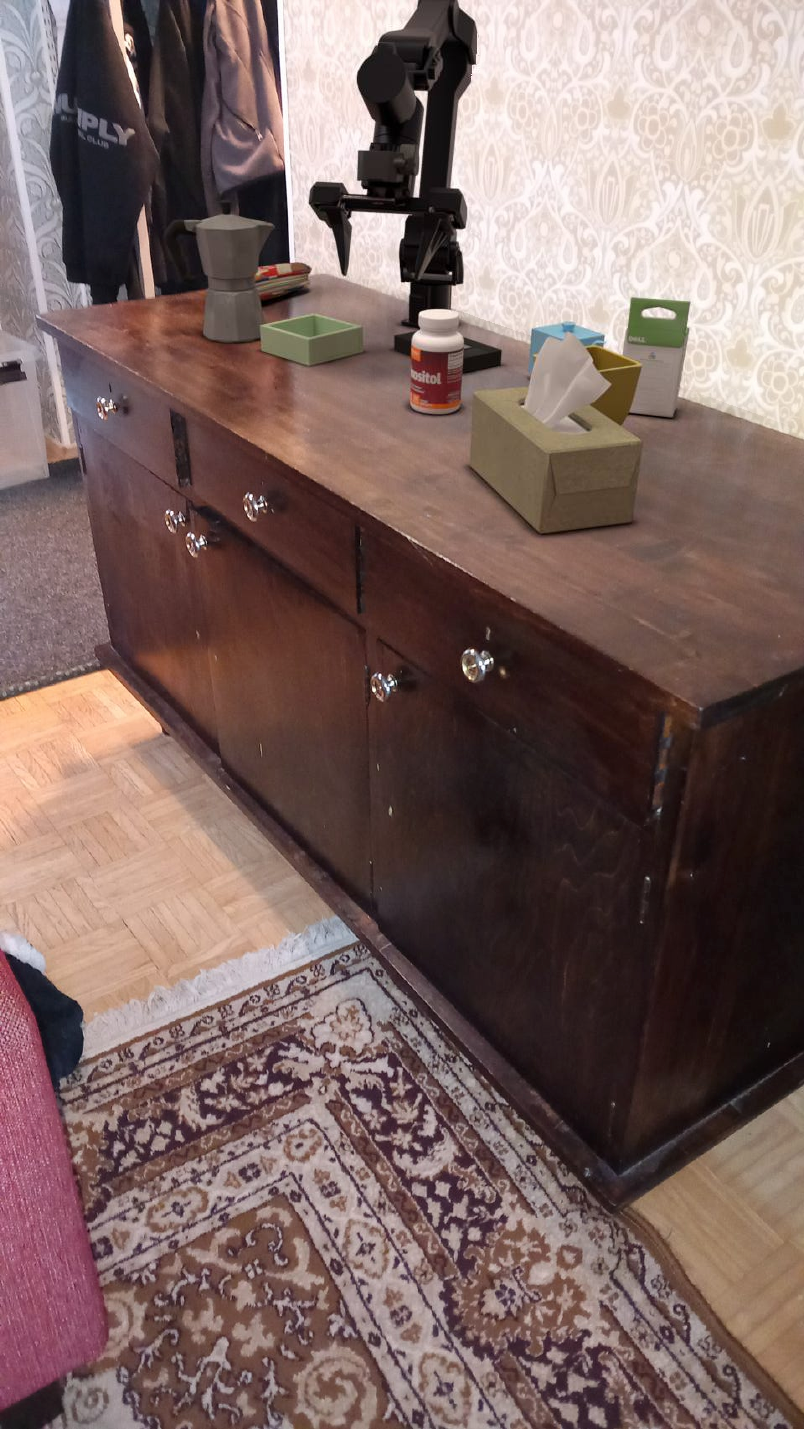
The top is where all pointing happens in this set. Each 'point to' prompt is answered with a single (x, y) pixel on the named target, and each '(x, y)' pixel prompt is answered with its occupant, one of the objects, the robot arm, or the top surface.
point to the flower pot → (614, 382)
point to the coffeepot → (225, 271)
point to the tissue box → (557, 445)
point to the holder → (311, 339)
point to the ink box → (657, 354)
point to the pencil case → (281, 279)
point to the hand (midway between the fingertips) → (379, 277)
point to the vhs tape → (473, 352)
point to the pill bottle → (436, 363)
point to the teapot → (561, 337)
